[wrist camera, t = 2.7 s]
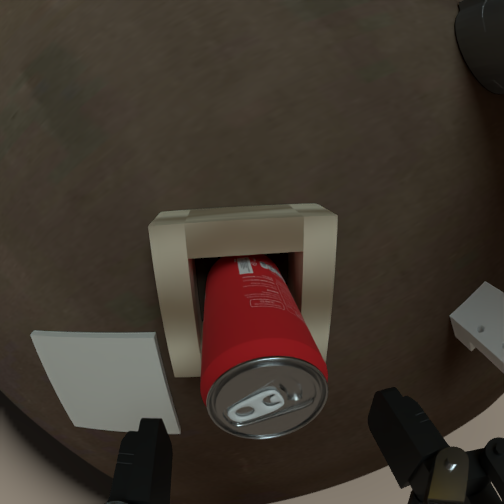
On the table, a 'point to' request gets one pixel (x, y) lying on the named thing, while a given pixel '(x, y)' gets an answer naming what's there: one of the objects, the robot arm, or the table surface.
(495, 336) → the white wedge bracket
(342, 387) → the table surface
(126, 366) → the pad
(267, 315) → the beverage can
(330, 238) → the collar
